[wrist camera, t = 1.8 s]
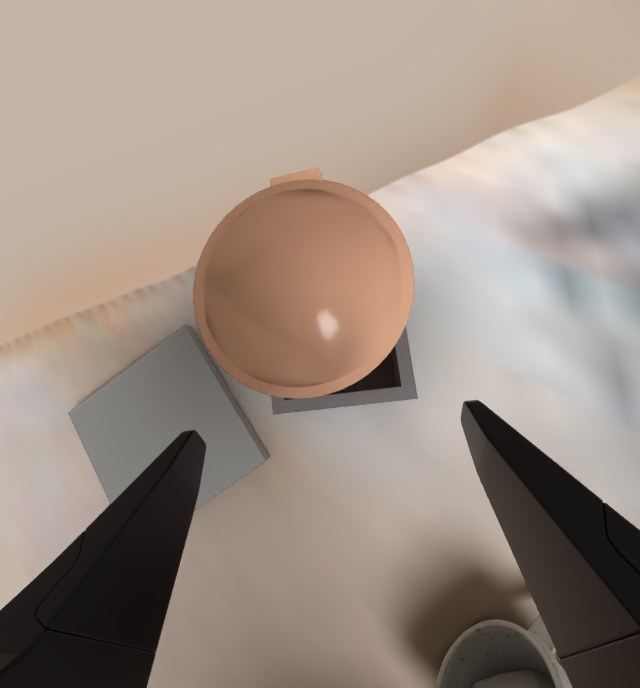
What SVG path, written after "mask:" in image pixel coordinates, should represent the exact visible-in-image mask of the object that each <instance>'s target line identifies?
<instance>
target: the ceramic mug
mask: <svg viewBox="0 0 640 688" xmlns="http://www.w3.org/2000/svg"><path fill="white" fill-rule="evenodd" d="M555 653H556V649H555V647H554V645H553V642H552V640H551V638H550V636H549V633H548V631H547V629H546V627H545V624H544V622H543V620H542V618H541V615H539V616H538V617H537V618H536V619H535V620H534V621H533V623H532V624H531V626H530V627H529V629H528V630H525V629H524V628H522V627H521V626H519V625H517V624H515V623H512V622H509V621H505V620H500V619H494V620H485V621H482V622H480V623H477V624H475V625H473V626H471V627H470V628H469V629H467V630H466V631H464V632H463V633H462V634H461V635H460V636H459V637H458V638H457V639H456V641H455V642H454V643H453V644H452V645H451V647H450V649H449V650H448V652H447V654H446V656H445V657H444V659H443V662H442V665H441V668H440V670H439V673H438V676H437V679H436V683H435V688H572V686H571V683H570V681H569V679H568V677H567V674H566V672H565V670H564V669H563V668H562V666H561V665H560V664H559V663H558V661H557V660H556V657H555Z"/></svg>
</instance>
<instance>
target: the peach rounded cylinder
mask: <svg viewBox="0 0 640 688" xmlns="http://www.w3.org/2000/svg"><path fill="white" fill-rule="evenodd" d="M270 184H271V187H269V188H267V189H264V190H262V191H259V192H258V193H256V194H254V195H252V196H251V197H249V198H247V199H246V200H244V201H243V202H242V203H240V204H239V205H238V206H236V207H235V208H234V209H233V210H232V211H231V212H230V213H228V214H227V215H226V216H225V218H224V219H223V220H222V221H221V222H220V223H219V225H218V226H217V227H216V229H215V230H214V232H213V233H212V234H211V236H210V237H209V239H208V241H207V243H206V245H205V247H204V249H203V251H202V254H201V257H200V259H199V262H198V266H197V269H196V273H195V280H194V287H193V304H194V312H195V317H196V321H197V325H198V329H199V331H200V334H201V336H202V339H203V341H204V343H205V345H206V347H207V348H208V350H209V352H210V353H211V355H212V356H213V357H214V359H215V360H216V361H217V363H218V364H219V365H220V366H221V367H222V368H223V369H224V370H225V371H226V372H227V373H228V374H229V375H231V376H232V377H233V378H235V379H236V380H237V381H239V382H240V383H242V384H244V385H246V386H248V387H249V388H251V389H254V390H256V391H259V392H261V393H264V394H267V395H272V396H276V397H281V398H293V399H299V398H312V397H318V396H323V395H327V394H330V393H333V392H336V391H339V390H342V389H344V388H346V387H348V386H350V385H352V384H354V383H356V382H357V381H359V380H360V379H362V378H364V377H365V376H367V375H368V374H369V373H370V372H371V371H373V370H374V369H375V368H376V367H377V366H378V365H379V364H380V363H381V362H382V361H383V360H384V359H385V358H386V356H387V355H388V354H389V353H390V352H391V350H392V349H393V347H394V346H395V344H396V343H397V341H398V340H399V338H400V336H401V334H402V332H403V330H404V328H405V326H406V323H407V320H408V317H409V314H410V311H411V307H412V302H413V296H414V270H413V262H412V258H411V254H410V250H409V248H408V245H407V243H406V240H405V238H404V236H403V234H402V232H401V230H400V229H399V227H398V225H397V224H396V222H395V221H394V220H393V219H392V217H391V216H390V215H389V214H388V212H387V211H386V210H385V209H383V208H382V207H381V206H380V205H379V204H378V203H377V202H376V201H374V200H373V199H371V198H370V197H369V196H367V195H366V194H364V193H362V192H360V191H358V190H356V189H354V188H352V187H349V186H346V185H343V184H340V183H336V182H331V181H326V180H322V175H321V171H320V168H316V169H311V170H307V171H302V172H298V173H294V174H290V175H285V176H281V177H276V178H272V179H270Z"/></svg>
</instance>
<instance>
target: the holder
mask: <svg viewBox="0 0 640 688" xmlns="http://www.w3.org/2000/svg"><path fill="white" fill-rule="evenodd" d="M391 355H392V361H393V367H394V374H395V380H396V386H387V387H379V388H370V389H362V390H353V391H345V392H336V393H330V394H327V395H323V396H318V397H312V398H299V399H293V398H281V397H276V396H272V395H271V398H272V408H273V414H281V413H290V412H299V411H308V410H317V409H326V408H336V407H345V406H354V405H363V404H372V403H381V402H391V401H400V400H409V399H418V398H417V392H416V386H415V380H414V374H413V368H412V362H411V356H410V350H409V344H408V338H407V332H406V326H405V328H404V330H403V332H402V334H401V336H400V338H399V340H398V341H397V343H396V344H395V346H394V347H393V349H392V350H391Z"/></svg>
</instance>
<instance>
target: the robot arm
mask: <svg viewBox="0 0 640 688" xmlns="http://www.w3.org/2000/svg"><path fill="white" fill-rule="evenodd" d="M461 423H462V427H463V430H464V433H465V436H466V440H467V443H468V446H469V449H470V452H471V455H472V459H473V462H474V465H475V468H476V471H477V473H478V476H479V478H480V481H481V483H482V485H483V487H484V490H485V492H486V494H487V496H488V499H489V501H490V503H491V505H492V508H493V510H494V512H495V514H496V517H497V519H498V521H499V523H500V526H501V528H502V530H503V532H504V535H505V537H506V539H507V541H508V544H509V546H510V548H511V550H512V553H513V555H514V557H515V559H516V562H517V564H518V566H519V568H520V571H521V573H522V575H523V577H524V580H525V582H526V584H527V586H528V589H529V591H530V593H531V595H532V598H533V600H534V602H535V604H536V607H537V609H538V611H539V613H540V615H541V618H542V620H543V622H544V624H545V627H546V629H547V631H548V633H549V636H550V638H551V640H552V642H553V645H554V647H555V649H556V651H557V654H558V656H559V658H561V659H560V661H561V663H562V665H563V668H564V670H565V672H566V674H567V677H568V679H569V681H570V683H571V686H572V688H640V530H639V529H638V528H636V527H635V526H634V525H633V524H631V523H630V522H629V521H628V520H626V519H625V518H624V517H622V516H621V515H620V514H619V513H618V512H616V511H615V510H614V509H613V508H611V507H610V506H609V505H608V504H606V503H603V501H602V500H601V499H600V498H599V497H598V496H596V495H595V494H594V493H593V492H591V491H590V490H589V489H588V488H587V487H585V486H584V485H583V484H582V483H580V482H579V481H578V480H577V479H575V478H574V477H573V476H572V475H570V474H569V473H568V472H567V471H566V470H564V469H563V468H562V467H561V466H559V465H558V464H557V463H556V462H554V461H553V460H552V459H551V458H550V457H548V456H547V455H546V454H545V453H543V452H542V451H541V450H540V449H538V448H537V447H536V446H535V445H534V444H532V443H531V442H530V441H529V440H527V439H526V438H525V437H524V436H522V435H521V434H520V433H519V432H517V431H516V430H515V429H514V428H513V427H511V426H510V425H509V424H508V423H506V422H505V421H504V420H503V419H501V418H500V417H499V416H498V415H497V414H495V413H494V412H493V411H492V410H490V409H489V408H488V407H487V406H485V405H484V404H483V403H482V402H480V401H478V400H471V401H465V402H464V403H463V408H462V414H461ZM205 454H206V443H205V441H204V440H203V439H202V437H201V436H200V435H199V434H198V432H197V431H196V430H187V431H183V432H182V433H181V434H180V435H179V436H178V437H177V438H176V439H175V440H174V441H173V442H172V443H171V444H170V445H169V446H168V447H167V448H166V449H165V450H164V451H163V452H162V453H161V454H160V455H159V456H158V457H157V458H156V459H155V460H154V461H153V462H152V463H151V464H150V465H149V466H148V467H147V468H146V469H145V470H144V471H143V472H142V473H141V474H140V475H139V476H138V477H137V478H136V479H135V480H134V481H133V482H132V483H131V484H130V485H129V486H128V487H127V488H126V489H125V490H124V491H123V492H122V493H121V494H120V495H119V496H118V497H117V498H116V499H115V500H114V501H113V502H112V503H111V504H110V505H109V506H108V507H107V508H106V509H105V510H104V511H103V512H102V513H101V514H100V515H99V516H98V517H97V518H96V519H95V520H94V521H93V522H92V523H91V524H90V525H89V526H88V527H87V529H86V531H84V532H82V533H81V534H80V535H79V536H78V537H77V538H76V539H75V540H74V542H73V543H72V544H71V545H69V546H68V547H67V548H66V549H65V550H64V551H63V552H62V553H61V554H60V555H59V556H58V557H57V558H56V559H55V560H54V561H53V562H52V563H51V564H50V565H49V566H48V567H47V568H46V569H45V570H44V571H43V572H41V573H40V574H39V575H38V576H37V577H36V578H35V579H34V580H33V581H32V582H31V583H30V584H29V585H28V586H27V587H25V588H24V589H23V590H22V591H21V592H20V593H19V594H18V595H17V596H16V597H14V598H13V599H12V600H11V601H10V602H9V603H8V604H7V605H6V606H5V607H3V608H2V609H1V610H0V688H147V684H148V680H149V676H150V673H151V669H152V665H153V662H154V658H155V654H156V653H155V652H156V650H157V646H158V642H159V639H160V635H161V631H162V628H163V624H164V620H165V617H166V613H167V609H168V605H169V602H170V598H171V594H172V591H173V587H174V583H175V579H176V576H177V572H178V568H179V565H180V561H181V557H182V553H183V550H184V546H185V542H186V539H187V535H188V531H189V528H190V524H191V520H192V516H193V513H194V509H195V505H196V502H197V498H198V494H199V489H200V484H201V478H202V472H203V466H204V460H205Z"/></svg>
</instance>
